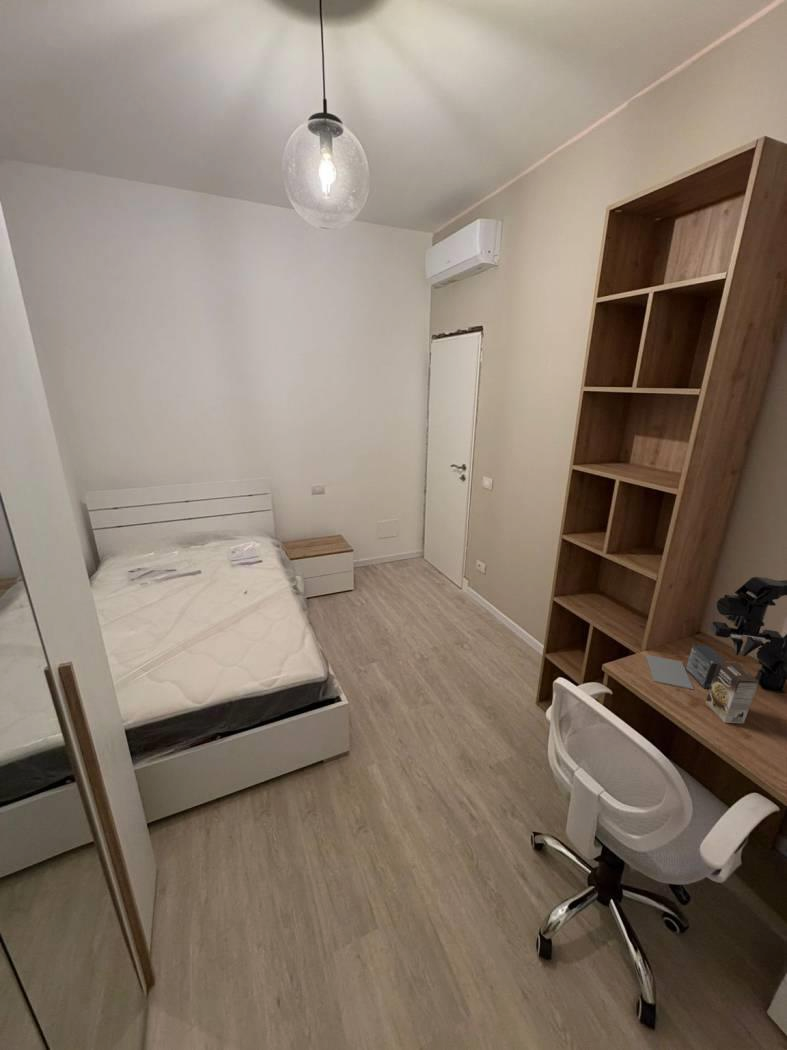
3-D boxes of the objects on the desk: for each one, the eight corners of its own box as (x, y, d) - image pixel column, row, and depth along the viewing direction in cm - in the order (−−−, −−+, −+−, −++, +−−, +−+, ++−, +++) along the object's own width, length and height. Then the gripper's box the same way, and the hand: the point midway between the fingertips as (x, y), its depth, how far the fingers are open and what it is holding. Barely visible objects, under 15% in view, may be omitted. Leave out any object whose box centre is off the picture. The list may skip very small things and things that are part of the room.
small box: (722, 689, 144) (730, 663, 141) (703, 688, 145) (710, 663, 141) (702, 669, 154) (709, 645, 151) (684, 669, 155) (690, 644, 151)
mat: (681, 662, 158) (681, 661, 158) (693, 690, 144) (694, 689, 144) (645, 655, 162) (645, 654, 162) (654, 681, 148) (654, 680, 148)
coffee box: (704, 702, 139) (716, 661, 133) (724, 702, 138) (737, 661, 133) (724, 723, 130) (738, 680, 125) (745, 723, 130) (760, 680, 125)
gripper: (776, 608, 142) (762, 647, 147) (710, 599, 148) (700, 636, 153) (792, 625, 132) (777, 666, 137) (722, 614, 138) (710, 654, 143)
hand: (739, 655), depth 143 cm, fingers closed
